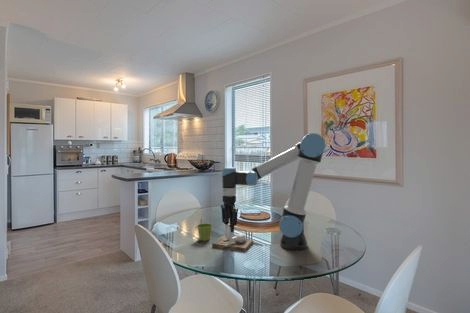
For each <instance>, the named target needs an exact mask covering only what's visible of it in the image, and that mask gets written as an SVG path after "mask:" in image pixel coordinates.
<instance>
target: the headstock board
mask: <svg viewBox="0 0 470 313" xmlns="http://www.w3.org/2000/svg"><path fill="white" fill-rule="evenodd" d="M225 240H228V239H227V236H225V235H222V236H220V237H219V238H217V239H216V240H215V241H214V242H212V243H211V247H212V248H215V249H224V250H232V251H238V252H246V251H247V250H248V249H249V248H250V247H251V246H252V245H253V244H254V239H252V238H251V239H249V238H245V240H246V241H245V242H243V243H239V242H236V241H233V242H228V241H227V242H223V241H225Z"/></svg>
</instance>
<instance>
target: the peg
mask: <svg viewBox="0 0 470 313" xmlns="http://www.w3.org/2000/svg"><path fill="white" fill-rule="evenodd" d="M229 225H230V223H228V224H227V239H228V240H225V241H223V242H227V241H228V242H233V241H236V242H239V243H243V242H245V241H246V240H245V239H246V234H245V233H237V234H235V235H234V237H232V238H229Z"/></svg>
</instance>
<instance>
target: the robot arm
mask: <svg viewBox="0 0 470 313" xmlns="http://www.w3.org/2000/svg"><path fill="white" fill-rule="evenodd" d="M301 138H302V139H301V140H300V141H299V142H298V143H296V144H295V146H293V147H292V148H290V149H287V150H286V151H284V152H282V153H280V154H278V155H276V156H274V157H272V158H270V159H268V160H267V161H264V162H263V163H261V164H259V165H256V166H255V167H252V168H251V169H249V170H246V171H241V170H240V171H238V170H237V168H236V167H233V166H232V167H231V166H229V167H227V166H226V167H222V174H221V175H222V176H221V177H222V202H223V204H222V205H220V208H221V219H222V220H221V221H222V223H224V230H225V231H224V233H225V234H224V236H227V224H230V225H229V238H232V237H235V235H234V233H235V226H237V225H238V214H239V213H238V212H239V208H237V207H236V204H235V203H236V202H237V196H236V195H237V186H257V184H258V182H259V181H260V180H261V179H262V178H265V177H266V176H267V177H268V176H269V175H271V174H273V173H275V172H277V171H279V170H281V169H283V168H285V167H287V166H289V165H291V164H293V163H296V162H297V161H299V162H298V165H297V169H296V173H295V176H294V180H293V184H292V188H291V192H290V195H289V199H288V203H287V204H286V205H283V208H282V213H281V218H280V220H279V222H278V227H279V230H280V232H281V233H282V234H281V237H280V240H279V246H280V247H281V248H283V249H285V250H289V251H302V250H305V249H307V247H308V242H307V239H306V238H307V237H306V235H305V220H306V216H307V212H306V210H305V208H306V203H307V200H308V196H309V193H310V190H311V186H312V183H313V179H314V175H315V172H316V168H317V165H319V164H320V163H321V161H322V158H323V155H324V151H325V149H326V141H325V139H324V137H323V136H322V135H320V134H319V133H314V132H312V133H307V134H306V135H304V136H303V137H301Z"/></svg>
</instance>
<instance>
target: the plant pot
mask: <svg viewBox="0 0 470 313" xmlns="http://www.w3.org/2000/svg"><path fill="white" fill-rule="evenodd" d="M212 227H213V225H212V224H211V223H199V224H197V225H196V228H197V230H198V235H199V241H203V242H207V241H209V240H210V238H211V232H212V231H211V230H212Z"/></svg>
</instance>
